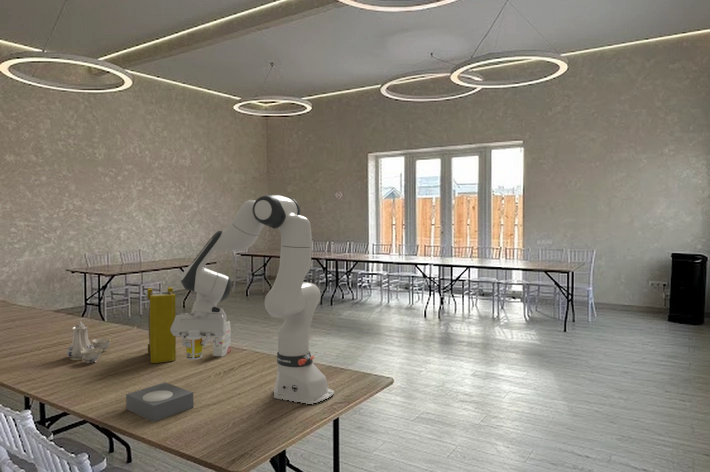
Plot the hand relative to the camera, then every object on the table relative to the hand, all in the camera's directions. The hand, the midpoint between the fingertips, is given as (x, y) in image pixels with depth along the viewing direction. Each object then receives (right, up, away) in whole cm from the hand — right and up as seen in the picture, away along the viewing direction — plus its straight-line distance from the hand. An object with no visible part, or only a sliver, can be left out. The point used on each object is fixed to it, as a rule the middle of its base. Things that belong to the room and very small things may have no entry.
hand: (193, 345), depth 172 cm
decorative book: (-28, -15, +40) cm, 51 cm away
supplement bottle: (0, -5, +1) cm, 5 cm away
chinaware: (-60, -14, +38) cm, 73 cm away
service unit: (-5, -17, -17) cm, 25 cm away
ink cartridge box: (-2, -15, +45) cm, 47 cm away
